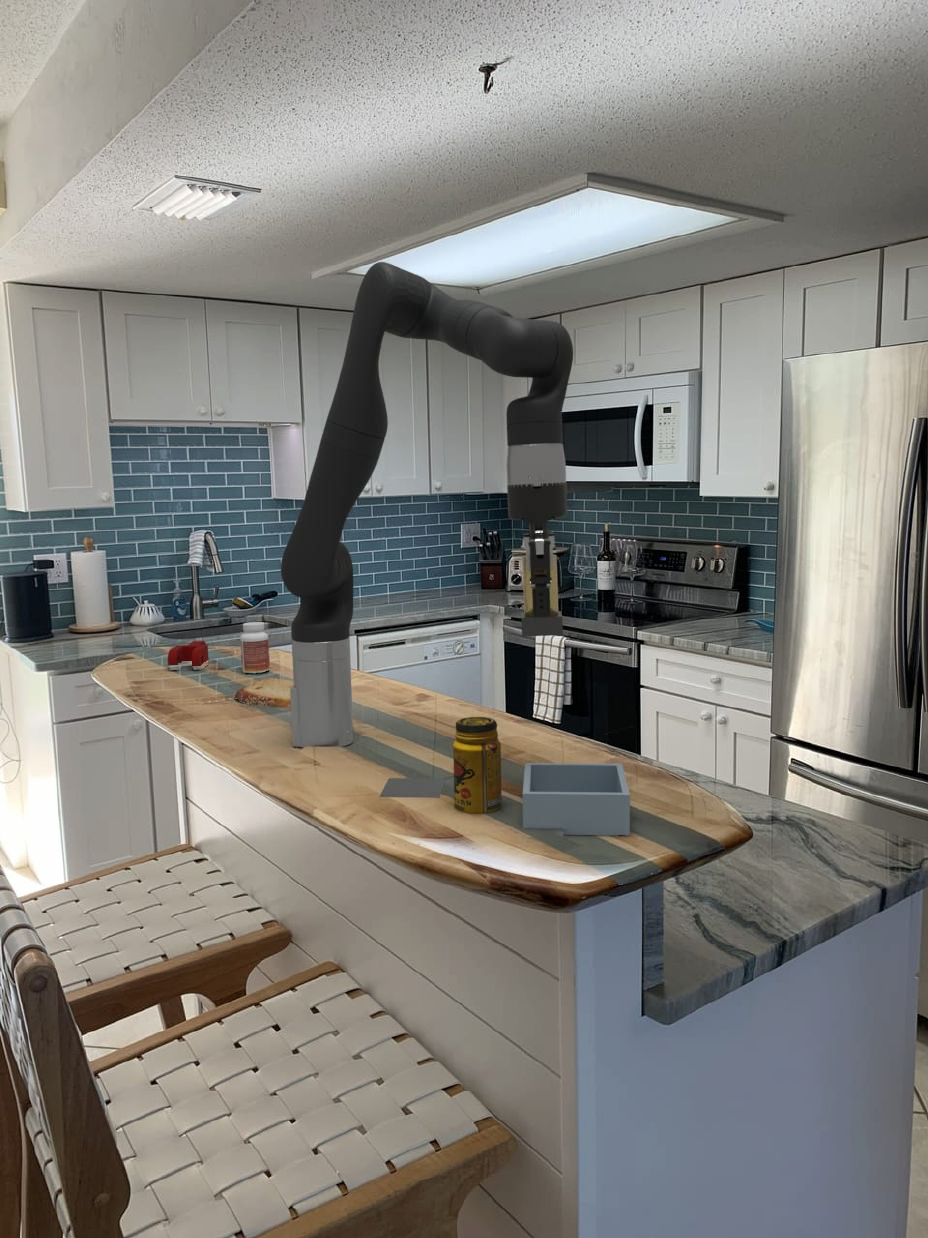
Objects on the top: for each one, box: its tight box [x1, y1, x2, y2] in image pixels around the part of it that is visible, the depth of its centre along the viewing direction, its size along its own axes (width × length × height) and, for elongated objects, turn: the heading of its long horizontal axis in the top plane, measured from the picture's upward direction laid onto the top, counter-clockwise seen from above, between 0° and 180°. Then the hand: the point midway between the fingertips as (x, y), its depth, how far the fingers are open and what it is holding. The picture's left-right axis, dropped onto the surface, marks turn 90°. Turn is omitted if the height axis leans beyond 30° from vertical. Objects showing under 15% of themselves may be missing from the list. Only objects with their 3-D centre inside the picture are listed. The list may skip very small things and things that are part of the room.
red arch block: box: [167, 640, 209, 666], centre depth 228 cm, size 16×7×5 cm, turn 1°
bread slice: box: [234, 676, 294, 709], centre depth 191 cm, size 18×18×4 cm
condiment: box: [452, 716, 503, 815], centre depth 124 cm, size 7×8×12 cm
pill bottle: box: [239, 621, 271, 673], centre depth 217 cm, size 6×6×11 cm
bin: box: [522, 762, 631, 837], centre depth 121 cm, size 13×13×5 cm
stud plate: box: [378, 777, 447, 799], centre depth 132 cm, size 8×8×1 cm
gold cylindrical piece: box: [520, 554, 564, 637], centre depth 126 cm, size 5×5×10 cm
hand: (541, 613), depth 126 cm, fingers closed on gold cylindrical piece, 4 cm apart
